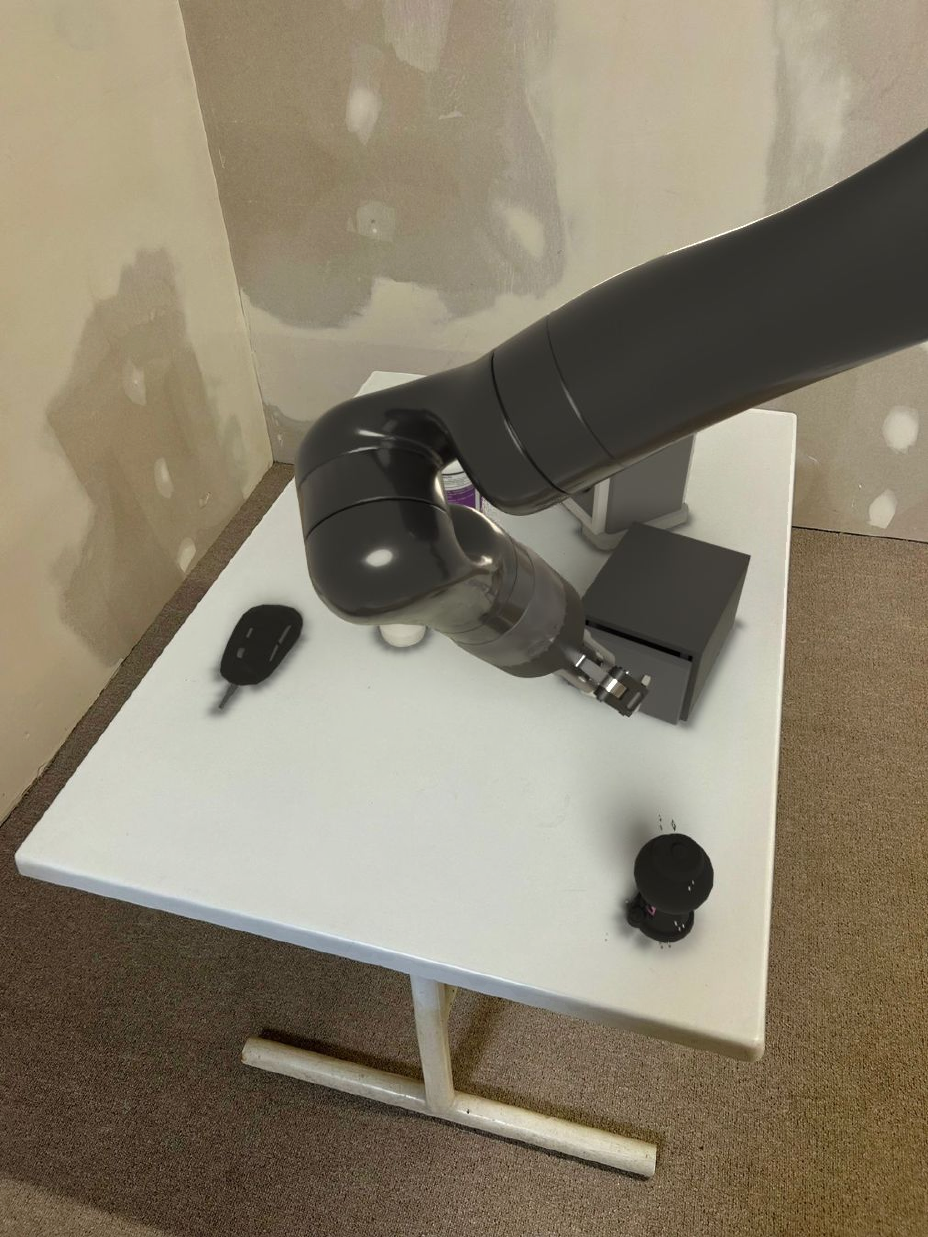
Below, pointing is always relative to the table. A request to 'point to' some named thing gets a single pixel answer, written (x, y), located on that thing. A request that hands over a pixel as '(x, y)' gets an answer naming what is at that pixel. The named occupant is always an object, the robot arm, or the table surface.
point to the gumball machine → (669, 886)
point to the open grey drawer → (648, 670)
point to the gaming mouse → (259, 644)
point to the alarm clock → (637, 496)
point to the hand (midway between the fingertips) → (586, 662)
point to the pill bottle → (460, 487)
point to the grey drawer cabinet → (670, 596)
